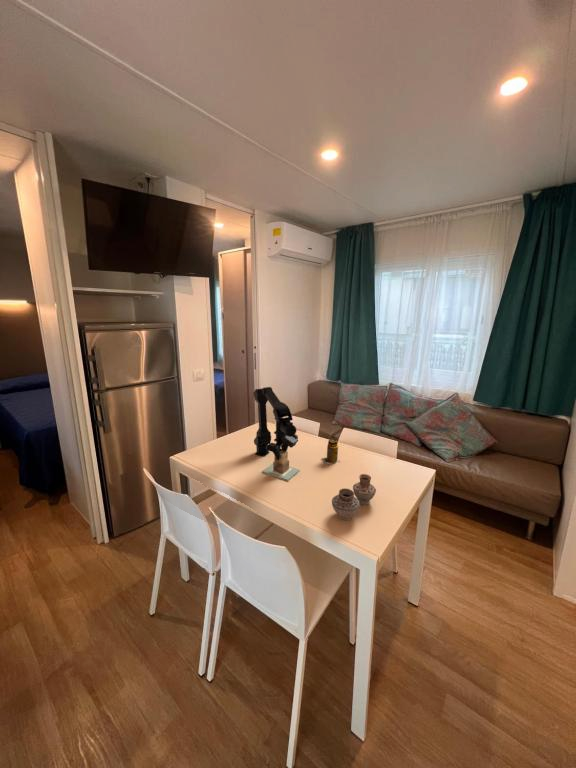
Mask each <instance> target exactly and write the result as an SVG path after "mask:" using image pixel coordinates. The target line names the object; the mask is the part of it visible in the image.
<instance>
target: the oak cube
mask: <svg viewBox="0 0 576 768" xmlns="http://www.w3.org/2000/svg"><path fill="white" fill-rule="evenodd" d="M273 457H274V458H273V459H274V461H273V462H276V463H279V464H284V463H285V462H287V461H288V460H289V454H288V451H287V452H286V451H283V450H281V451H280V458H279V460H277V459H276V457H275V455H273Z"/></svg>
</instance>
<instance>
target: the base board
mask: <svg viewBox="0 0 576 768" xmlns="http://www.w3.org/2000/svg"><path fill="white" fill-rule="evenodd" d="M299 472H301V469H299V468H296V467H292V466H290V465H289V470H287V471H286V472H285V473H284V474H281V473H278V472H275V471H273V463H271V464H269V466H267V467H266V468H264V469H262V471H261V473H263V474H265V475H269V476H272V477H275V478H277V479H280V480H283V481H286V482H290V480H291V479H292V478H294V477H295V476H297V474H298V473H299Z"/></svg>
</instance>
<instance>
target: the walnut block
mask: <svg viewBox="0 0 576 768" xmlns="http://www.w3.org/2000/svg"><path fill="white" fill-rule="evenodd" d="M272 464H273V471H275V472H278V473H281V474H284V473H285V472H286V471H287V470H289V466H290V460H289V459H288V461H287V462H285V463H284V464H279V463H276V462H274V461H273V462H272Z"/></svg>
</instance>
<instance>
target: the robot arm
mask: <svg viewBox="0 0 576 768" xmlns="http://www.w3.org/2000/svg"><path fill="white" fill-rule="evenodd" d="M253 397H254V398H253V399H254V401H255V402H256V404H257V414H258V415H257V416H258V417H257V418H258V430H256V436H255V438H254V439H253V443H254V445H255V446H256V451H255V452H254V455H257V456H260V457H266V456H267V455H268V454H270V452H272V453H273V454H274V455H275V457H276V459H277V460H279V458H280V451H281V450H283V451H286V452H288V448H293V447H296V445H297V443H298V442H299V437H298V436H299V435H298V434H296V433H297V427H296V426H295V425H294V423H293V422H292V421H293V414H292V413H291V410H290V408H289V407H288V405H287V404H286V403H285V402H282V401H281V400H280V399H279V397H278V396H277V394H276V393H275V392H274V391H273V388H272V387H271V386H266V387H262V388H256V389H254V390H253ZM268 402H269V404H270V405H271V407H272V408H273V409H272V413H273V416H274V420H275V431H274V432H273V433H274V435H275V438H274V439H273V441H274V442H272V432H271V431H270V430H269V429H268V418H267V417H268V415H267V403H268ZM274 455H273V456H274Z"/></svg>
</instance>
